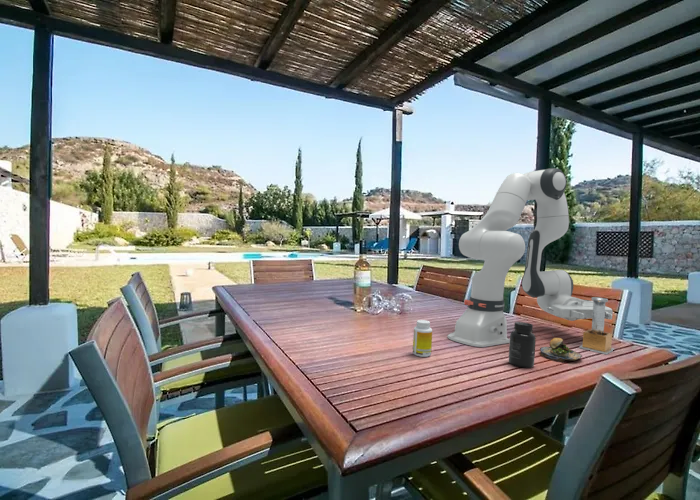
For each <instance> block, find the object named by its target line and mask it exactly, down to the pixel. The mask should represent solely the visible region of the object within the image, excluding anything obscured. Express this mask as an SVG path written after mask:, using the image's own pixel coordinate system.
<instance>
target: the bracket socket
mask: <svg viewBox="0 0 700 500" xmlns="http://www.w3.org/2000/svg"><path fill="white" fill-rule="evenodd" d="M612 343H613V333H610V332H604V335H603V336H602V335H598V334H593V333H592V328H591V329H588V330H585V331H583V334H582V344H581V345H579V346H578V347H579V349H581V350H585V349H586V350H585V351H589V350H590V351H591V352H594V353H598V354H603V355H609V354H610V353H612V352H614V351H615V348H613V347H612ZM613 350H614V351H613Z"/></svg>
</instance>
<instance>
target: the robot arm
mask: <svg viewBox="0 0 700 500" xmlns="http://www.w3.org/2000/svg"><path fill="white" fill-rule="evenodd" d="M567 184H568V183H567V177H566V175H565V173H564V172H563V171H562V170H561V169H560V168H552V167H550V168H546V169H539V170H531V171H529V172H525V173H521V172H513V173H510V174H508V175H507V176H506V177H505V179H504V180H503V181H502V183H501V185H500V186H499V188H498V189H497V192H496V193H495V195H494V198H493V200H492V201H491V204H490V205H489V209H488V210H487V211H486V214H485V215H484V216H483V217H482V218H481V219H480V220H479V221H478V222H477V223H476V224H475V226H473V227H472V228H471V229H469V230H468V231H465V232H464V233H462V234H461V236H460V238H459V241H458V249H459V252H460V254H462V255H463V256H465V257H467V258H470V259H474V260H478V261H479V260H481V261H484V263H483V265H482V267H481V269H480V270H479V271H477V272H475V273H474V274H473V275H472V278H471V292H470V297H469V299H464V300H463V301H464V302H463V305H465V306H467V308H466V310H465V311H464V312H463V313H462V314H461V315H460V316H459V317H458V319H457V320H456V321H455V326H454V331H453V332H450V333H449V334H447V337H446V338H447V339H449V340H450V341H453V342H456V343H460V344H463V345H467V346H470V347H471V346H472V347H476V348H485V347H486V348H487V347H492V346H497V345H504V344H505V345H506V344H510V338H508V331H507V330H508V324H507V323H508V322H507V318H506V315H505V314H504V310H505V300H504V291H505V283H506V278H507V276H508V275H507V274H508V273H509V271H510V269H511V267H512V266H513V265H514V264H515V263H516V262H518V261H520V259H521V258H522V257H523V256H524V254H525V252H526V257H525V264H524V272H523V276H522V279H521V289H522V290H523V292H524V293H525V294H527V295H528V296H530V297H531V298H536V303H537V305H538V307H539V308H540V309H541V310H543V312H546V313H548V314H550V315H553V316H555V317H557V318H561V319H564V320H566V321H570V322H575V321H577V320H586V319H592V317H593V301H592V300H589V299H581V298H578V297H575V296H573V291H574V280H573V278H572V276H571V275H570V274H569V272H567V271H566V270H564V269H556V270H555V269H552V270H544V271H543V270H541V261H542V255H543V254H542V253H543V250H544V249H545V247H546V246H547V245H549V244H550V243H552V242H554V241H556V240H557V241H558V240H559V239H560V238H561V237H563V236H564V235H565V234H566V233H567V232H568V231H569V227H570V226H569V225H570V219H569V218H570V217H569V206H568V201H567V198H566V194H565V191H566V188H567ZM534 200H535V202H536V206H537V208H536V225H535V228H534V230H533V231H532V232H530V234H529V238H528V242H527V250H526V242H525V240H524V237H522V235H521V234H519V233H517V232H512V231H510V229H511V228H513V227H515V226H516V225H517V224H518V222H519V221H520V218H521V216H522V213H523V211H524V209H525V206H526V204H527V201H534ZM508 230H509V231H508ZM540 270H541V271H540ZM612 319H613V309H612V308H611V307H608V306H606V305H605V319H604V320H612Z"/></svg>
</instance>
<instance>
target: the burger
mask: <svg viewBox="0 0 700 500" xmlns="http://www.w3.org/2000/svg"><path fill="white" fill-rule="evenodd" d="M551 334H552V336H553V338H552V339H551V340H550V341H549V346H541V347H539V350H540V352H538V354H539V355H540V356H541V357H543V358H545V359H547V360H549V361H553V362H559V363H564V362H565V361H577V360H579V359H582V357H583V355H582V354H581V353H579V352H577V351H575V350H573V349H570V348H569V347H568V346H567V344H565V343H564V342H563V341H564V339H563V338H561V337H554V334H553V332H551Z"/></svg>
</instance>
